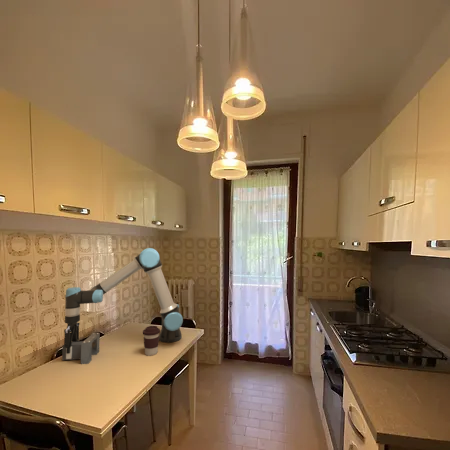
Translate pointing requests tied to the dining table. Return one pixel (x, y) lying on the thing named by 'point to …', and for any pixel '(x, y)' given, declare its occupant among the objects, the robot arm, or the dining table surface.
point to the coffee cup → (151, 340)
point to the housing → (90, 348)
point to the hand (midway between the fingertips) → (71, 356)
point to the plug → (73, 351)
